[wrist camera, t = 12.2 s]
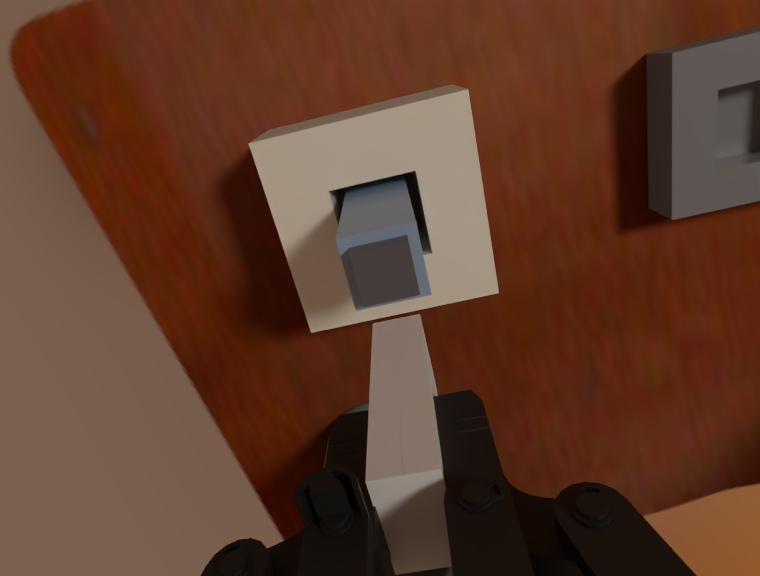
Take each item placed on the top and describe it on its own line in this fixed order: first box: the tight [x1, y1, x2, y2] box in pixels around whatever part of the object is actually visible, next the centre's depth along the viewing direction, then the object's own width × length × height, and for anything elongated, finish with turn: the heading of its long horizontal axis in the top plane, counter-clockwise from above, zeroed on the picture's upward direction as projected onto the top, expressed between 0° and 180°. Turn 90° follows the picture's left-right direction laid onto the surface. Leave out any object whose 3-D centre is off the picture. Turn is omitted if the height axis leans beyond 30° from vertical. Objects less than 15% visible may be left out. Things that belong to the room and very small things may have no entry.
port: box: [249, 84, 499, 333], centre depth 32 cm, size 12×12×6 cm
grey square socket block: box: [646, 26, 760, 220], centre depth 31 cm, size 10×10×3 cm
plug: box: [336, 174, 432, 311], centre depth 28 cm, size 4×4×13 cm
